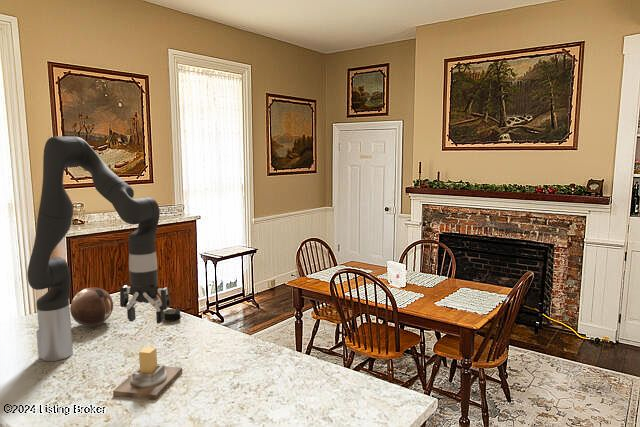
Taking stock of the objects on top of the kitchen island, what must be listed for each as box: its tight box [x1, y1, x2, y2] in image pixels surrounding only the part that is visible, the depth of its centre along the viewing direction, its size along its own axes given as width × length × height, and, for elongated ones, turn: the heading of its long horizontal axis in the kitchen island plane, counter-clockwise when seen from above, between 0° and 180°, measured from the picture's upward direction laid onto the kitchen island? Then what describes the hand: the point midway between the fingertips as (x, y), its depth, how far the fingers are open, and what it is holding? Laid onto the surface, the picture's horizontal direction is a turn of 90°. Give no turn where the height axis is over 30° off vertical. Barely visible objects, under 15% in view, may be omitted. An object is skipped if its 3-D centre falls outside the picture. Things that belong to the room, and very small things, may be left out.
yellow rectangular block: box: [138, 346, 158, 374], centre depth 135 cm, size 4×4×8 cm
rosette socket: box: [112, 363, 183, 401], centre depth 135 cm, size 13×16×4 cm
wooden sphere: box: [69, 286, 114, 328], centre depth 179 cm, size 15×15×15 cm
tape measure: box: [163, 308, 182, 322], centre depth 186 cm, size 7×7×4 cm
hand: (146, 321), depth 133 cm, fingers open, 8 cm apart
